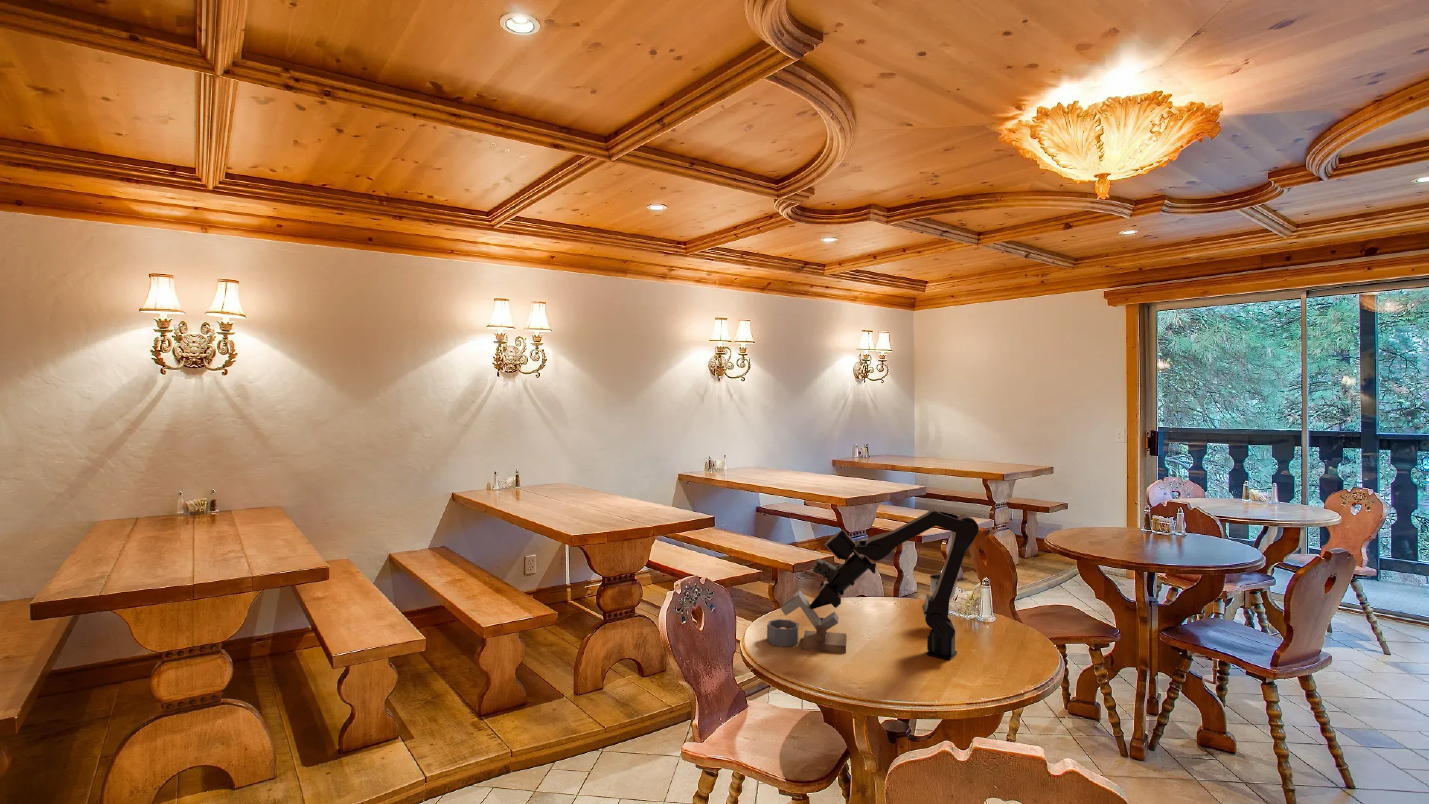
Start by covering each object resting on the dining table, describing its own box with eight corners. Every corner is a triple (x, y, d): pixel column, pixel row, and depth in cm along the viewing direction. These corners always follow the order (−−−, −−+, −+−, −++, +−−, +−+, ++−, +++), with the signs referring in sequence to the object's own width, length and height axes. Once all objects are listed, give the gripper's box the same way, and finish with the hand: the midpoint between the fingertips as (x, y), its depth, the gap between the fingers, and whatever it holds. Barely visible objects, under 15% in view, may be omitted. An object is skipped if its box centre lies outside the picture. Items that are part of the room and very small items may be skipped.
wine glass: (923, 622, 223) (924, 575, 223) (944, 620, 226) (945, 573, 226) (940, 631, 216) (940, 581, 216) (961, 628, 219) (962, 579, 218)
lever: (839, 618, 205) (813, 580, 207) (839, 625, 200) (811, 586, 201) (807, 639, 207) (781, 601, 208) (806, 646, 201) (779, 607, 203)
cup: (799, 637, 209) (799, 620, 209) (796, 648, 201) (796, 630, 200) (769, 635, 211) (769, 618, 211) (765, 645, 202) (766, 628, 202)
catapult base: (846, 640, 207) (846, 618, 207) (845, 653, 197) (846, 629, 197) (804, 637, 209) (805, 615, 209) (802, 649, 200) (802, 626, 199)
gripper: (831, 543, 212) (793, 578, 214) (828, 558, 193) (787, 596, 196) (857, 571, 210) (820, 606, 213) (857, 588, 192) (816, 626, 194)
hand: (810, 607), depth 204 cm, fingers closed
